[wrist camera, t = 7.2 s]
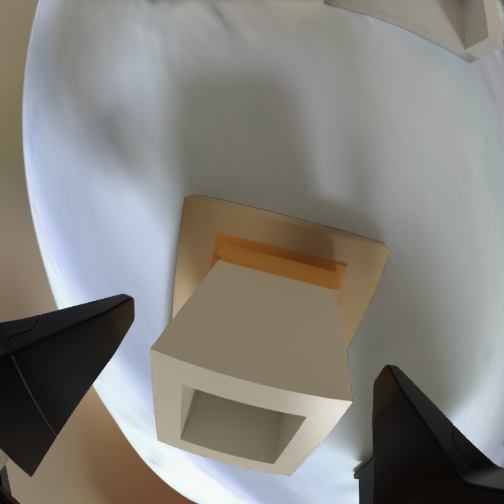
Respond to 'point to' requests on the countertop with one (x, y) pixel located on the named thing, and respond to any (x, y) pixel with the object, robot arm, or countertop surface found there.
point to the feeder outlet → (440, 22)
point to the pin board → (277, 251)
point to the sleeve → (253, 364)
